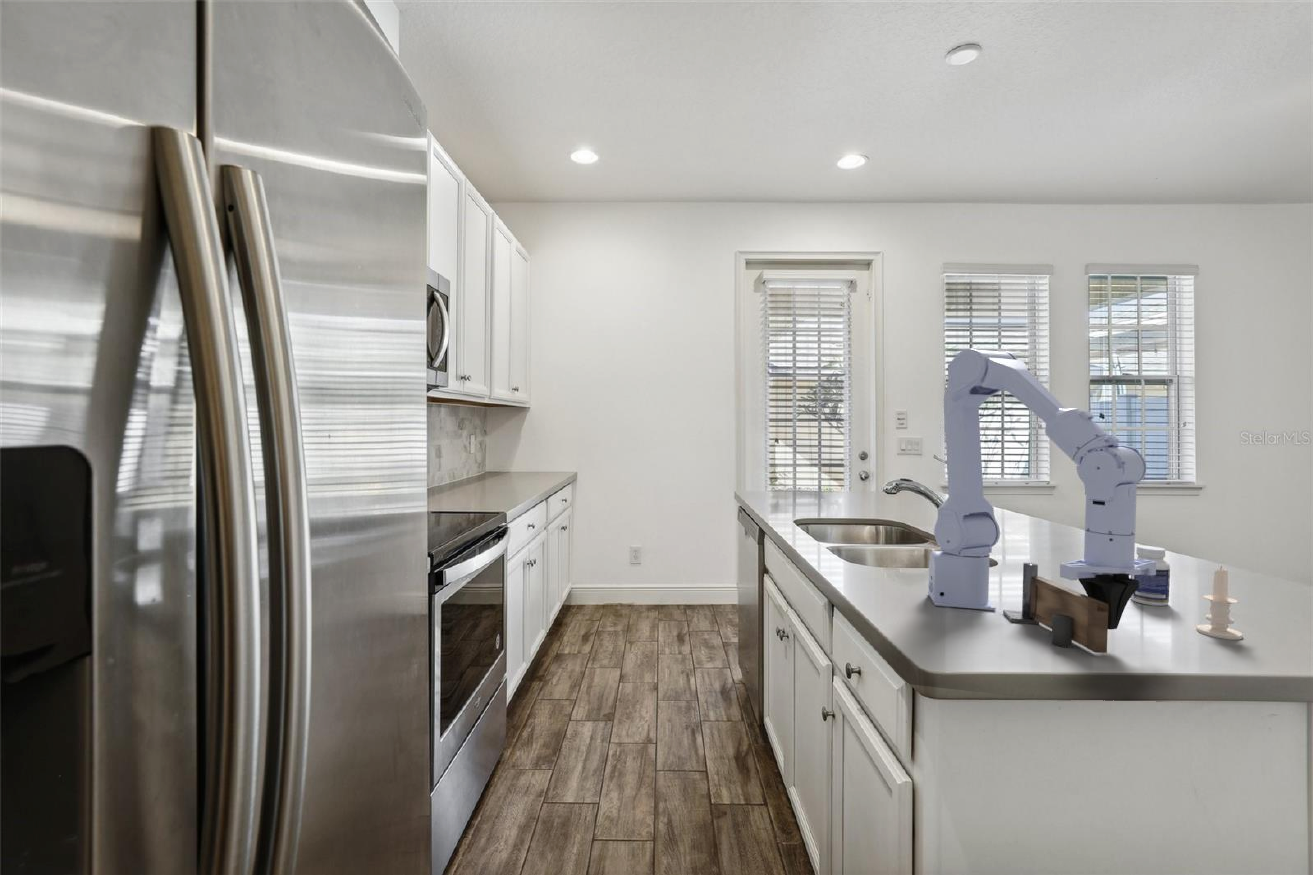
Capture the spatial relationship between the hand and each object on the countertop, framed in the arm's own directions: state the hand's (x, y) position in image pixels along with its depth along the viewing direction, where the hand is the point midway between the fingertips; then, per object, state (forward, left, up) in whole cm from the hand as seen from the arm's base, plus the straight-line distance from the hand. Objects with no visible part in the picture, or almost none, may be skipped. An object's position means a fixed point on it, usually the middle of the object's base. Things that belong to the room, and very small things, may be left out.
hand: (1106, 627), depth 87 cm
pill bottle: (+17, +28, -3) cm, 33 cm away
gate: (-4, +2, -2) cm, 5 cm away
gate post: (-8, +11, -3) cm, 13 cm away
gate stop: (-6, 0, -3) cm, 6 cm away
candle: (+19, +12, -3) cm, 23 cm away
